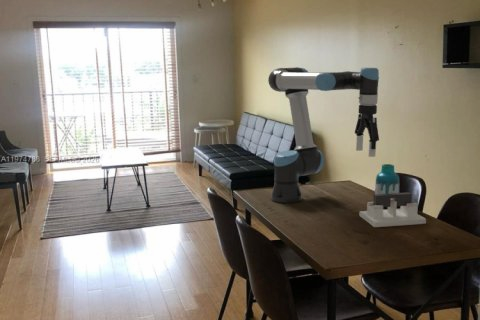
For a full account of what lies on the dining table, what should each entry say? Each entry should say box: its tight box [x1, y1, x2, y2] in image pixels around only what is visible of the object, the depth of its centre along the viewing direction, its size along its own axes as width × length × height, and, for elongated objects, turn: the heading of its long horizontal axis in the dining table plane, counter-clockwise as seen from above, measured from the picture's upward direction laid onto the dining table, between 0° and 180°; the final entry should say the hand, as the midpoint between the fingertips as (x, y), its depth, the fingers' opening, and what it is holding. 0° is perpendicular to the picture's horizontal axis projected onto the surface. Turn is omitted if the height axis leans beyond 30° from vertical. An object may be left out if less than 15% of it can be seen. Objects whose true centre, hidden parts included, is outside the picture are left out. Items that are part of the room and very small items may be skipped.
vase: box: [374, 163, 400, 200], centre depth 228 cm, size 11×11×19 cm
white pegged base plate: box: [358, 199, 427, 228], centre depth 209 cm, size 16×22×8 cm
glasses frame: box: [372, 192, 413, 208], centre depth 208 cm, size 2×16×5 cm, turn 98°
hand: (365, 153), depth 217 cm, fingers open, 13 cm apart
